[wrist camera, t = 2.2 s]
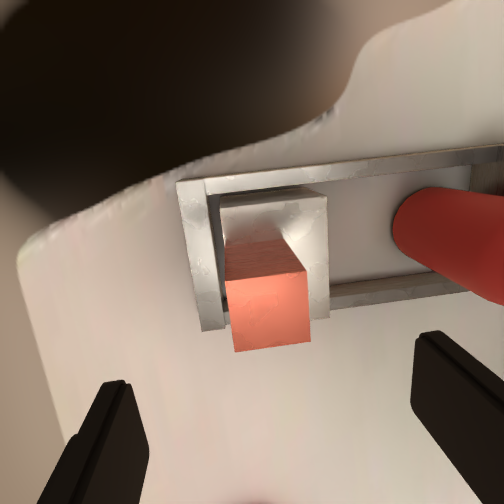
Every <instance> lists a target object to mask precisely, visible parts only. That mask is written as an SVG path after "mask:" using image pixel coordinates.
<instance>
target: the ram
mask: <svg viewBox="0 0 504 504" xmlns="http://www.w3.org/2000/svg"><path fill="white" fill-rule="evenodd" d="M219 209H220V216H221V224H222V231H223V238H224V245H225V286H226V293H227V300H228V307H229V314H230V321H231V328H232V335H233V342H234V349H235V352H241V351H248V350H255V349H262V348H269V347H276V346H283V345H290V344H297V343H304V342H311V339H310V320H317V319H324V318H330V300H329V262H328V225H327V196H325V195H323V194H320V193H318V192H315V191H313V190H310V189H308V188H305V187H299V188H290V189H282V190H273V191H264V192H256V193H247V194H239V195H230V196H221V197H220V208H219Z"/></svg>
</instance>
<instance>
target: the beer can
mask: <svg viewBox="0 0 504 504" xmlns="http://www.w3.org/2000/svg"><path fill="white" fill-rule="evenodd" d="M393 236H394V241H395V243H396V244H397V246H398V248H399V250H401V251H402V252H403V253H404V254H405V255H406V256H408V257H410V258H412V259H414V260H415V261H417V262H419V263H421V264H423V265H424V266H426V267H428V268H430V269H432V270H434V271H435V272H437V273H439V274H441V275H443V276H444V277H446V278H448V279H450V280H452V281H453V282H455V283H457V284H459V285H461V286H463V287H464V288H466V289H468V290H470V291H472V292H473V293H475V294H477V295H479V296H481V297H482V298H484V299H486V300H488V301H491V302H494V303H497V304H500V305H503V306H504V197H503V196H497V195H490V194H483V193H476V192H470V191H463V190H456V189H450V188H443V187H429V188H426V189H423V190H419V191H418V192H416V193H415V194H413V195H411V196H410V197H408V198H407V199H406V200H405V202H404V203H403V204H402V205H401V206H400V207H399V209H398V212H397V214H396V216H395V218H394V223H393Z"/></svg>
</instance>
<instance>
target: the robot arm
mask: <svg viewBox="0 0 504 504" xmlns="http://www.w3.org/2000/svg"><path fill="white" fill-rule="evenodd" d="M410 403H411V407H412V409H413V412H414V413H415V415H416V416H417V417H418V419H419V420H420V421H421V423H422V424H423V425H424V426H425V428H426V429H427V430H428V432H429V433H430V434H431V436H432V437H433V438H434V440H435V441H436V442H437V444H438V445H439V446H440V448H441V449H442V450H443V452H444V453H445V454H446V456H447V457H448V458H449V460H450V461H451V462H452V464H453V465H454V466H455V468H456V469H457V470H458V472H459V473H460V474H461V476H462V477H463V478H464V480H465V481H466V482H467V484H468V485H469V486H470V488H471V489H472V490H473V492H474V493H475V494H476V496H477V497H478V498H479V500H480V501H481V502H482V504H504V381H503V380H502V379H501V378H499V377H498V376H497V375H496V374H494V373H493V372H492V371H491V370H489V369H488V368H487V367H486V366H484V365H483V364H482V363H481V362H479V361H478V360H477V359H476V358H474V357H473V356H472V355H471V354H469V353H468V352H467V351H466V350H464V349H463V348H462V347H461V346H459V345H458V344H457V343H456V342H454V341H453V340H452V339H451V338H449V337H448V336H447V335H446V334H445V333H443V332H442V331H439V330H437V331H431V332H424V333H421V334H420V335H419V338H417V339H416V341H415V350H414V362H413V374H412V386H411V398H410ZM148 461H149V445H148V441H147V438H146V434H145V431H144V427H143V424H142V420H141V417H140V413H139V410H138V406H137V403H136V399H135V396H134V392H133V389H132V386H131V384H126V383H125V381H124V380H117V381H110V382H104V383H103V384H102V385H101V387H100V389H99V391H98V393H97V395H96V397H95V399H94V401H93V403H92V405H91V407H90V409H89V411H88V413H87V415H86V417H85V420H84V422H83V424H82V426H81V428H80V430H79V432H78V434H75V435H74V436H72V437H71V439H70V440H69V442H68V443H67V445H66V447H65V449H64V451H63V453H62V455H61V457H60V459H59V461H58V463H57V465H56V467H55V469H54V471H53V473H52V474H51V476H50V478H49V480H48V482H47V484H46V486H45V488H44V490H43V492H42V494H41V496H40V498H39V500H38V502H37V504H139V501H140V497H141V492H142V488H143V483H144V479H145V474H146V470H147V465H148Z"/></svg>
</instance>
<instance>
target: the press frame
mask: <svg viewBox="0 0 504 504" xmlns="http://www.w3.org/2000/svg"><path fill="white" fill-rule="evenodd" d="M463 165H472V172H471V180H470V189H469V191H470V192H476V193H483V194H490V195H497V196H503V197H504V143H501V144H492V145H483V146H474V147H466V148H457V149H448V150H439V151H430V152H421V153H412V154H403V155H394V156H385V157H376V158H367V159H358V160H350V161H341V162H332V163H323V164H314V165H305V166H296V167H287V168H278V169H269V170H260V171H251V172H242V173H234V174H225V175H216V176H207V177H198V178H189V179H181V180H179V181H177V182H175V184H176V189H177V195H178V201H179V206H180V212H181V217H182V223H183V229H184V234H185V240H186V246H187V251H188V257H189V262H190V268H191V274H192V279H193V285H194V291H195V296H196V302H197V307H198V313H199V319H200V324H201V330H202V332H203V331H210V330H218V329H225V325H227V324H231V321H230V314H229V307H228V300H227V299H226V300H224V299H223V293H222V286H221V279H220V272H219V265H218V258H217V252H216V245H215V238H214V231H213V224H212V218H211V211H210V204H209V197H208V195H211V194H220V193H229V192H237V191H246V190H255V189H263V188H272V187H281V186H289V185H298V184H307V183H315V182H324V181H333V180H341V179H350V178H359V177H367V176H376V175H385V174H394V173H402V172H411V171H420V170H428V169H437V168H446V167H454V166H463ZM467 291H470V290H468V289H466V288H464V287H463V286H461V285H459V284H457V283H455V282H453V281H452V280H450V279H448V278H446V277H444V276H443V275H441V274H439V273H437V272H429V273H421V274H414V275H406V276H399V277H391V278H384V279H376V280H369V281H361V282H354V283H346V284H338V285H331V286H329V300H330V310H336V309H343V308H351V307H358V306H365V305H372V304H380V303H387V302H394V301H401V300H409V299H416V298H423V297H431V296H438V295H445V294H452V293H460V292H467Z"/></svg>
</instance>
